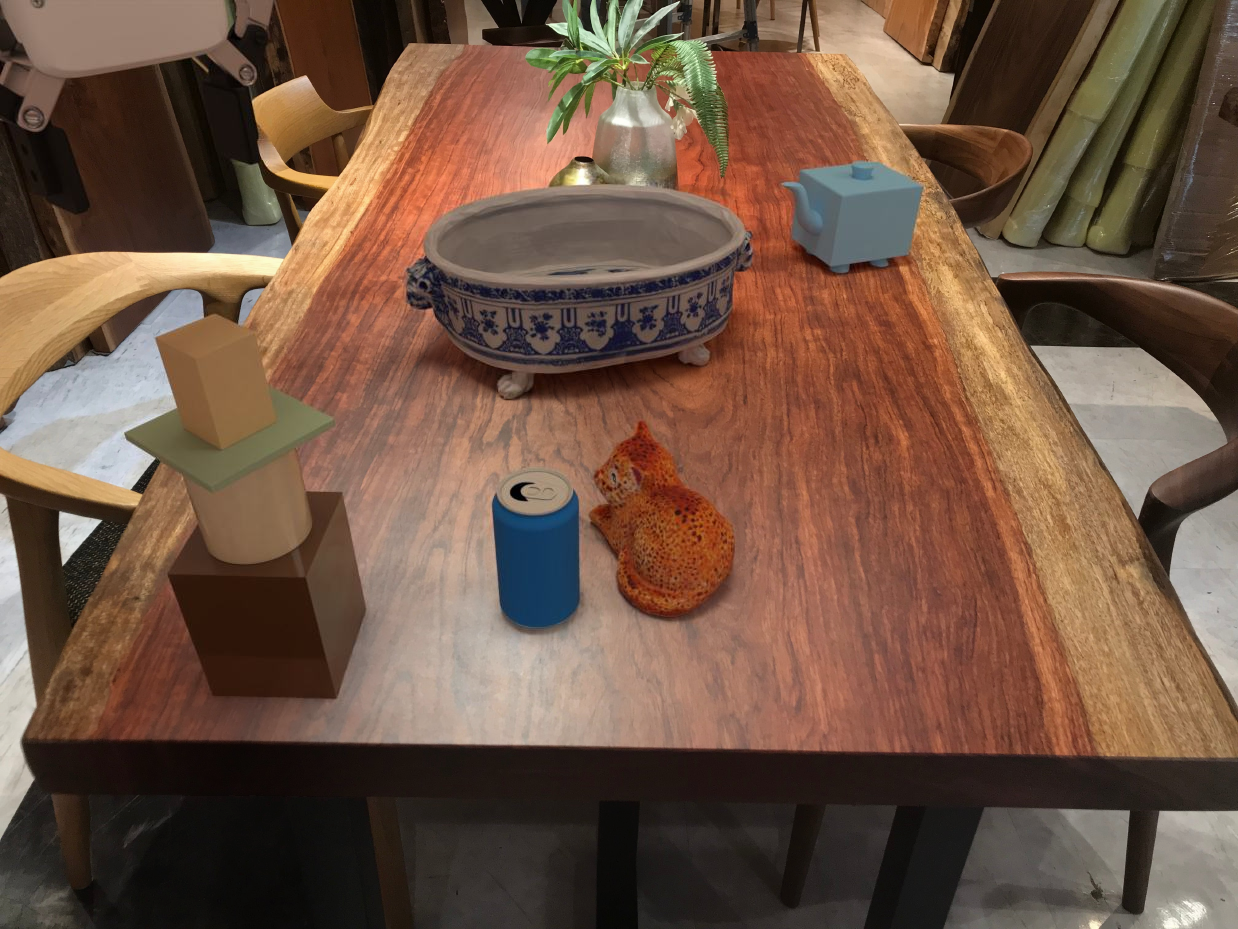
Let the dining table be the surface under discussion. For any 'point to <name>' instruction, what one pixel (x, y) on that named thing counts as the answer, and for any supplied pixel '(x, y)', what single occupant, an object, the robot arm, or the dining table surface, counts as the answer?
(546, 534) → the beverage can
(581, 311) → the decorative bowl
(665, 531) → the figurine
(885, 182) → the teapot
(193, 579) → the cylinder on cube
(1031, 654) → the dining table surface
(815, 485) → the dining table surface
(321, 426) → the block on board
